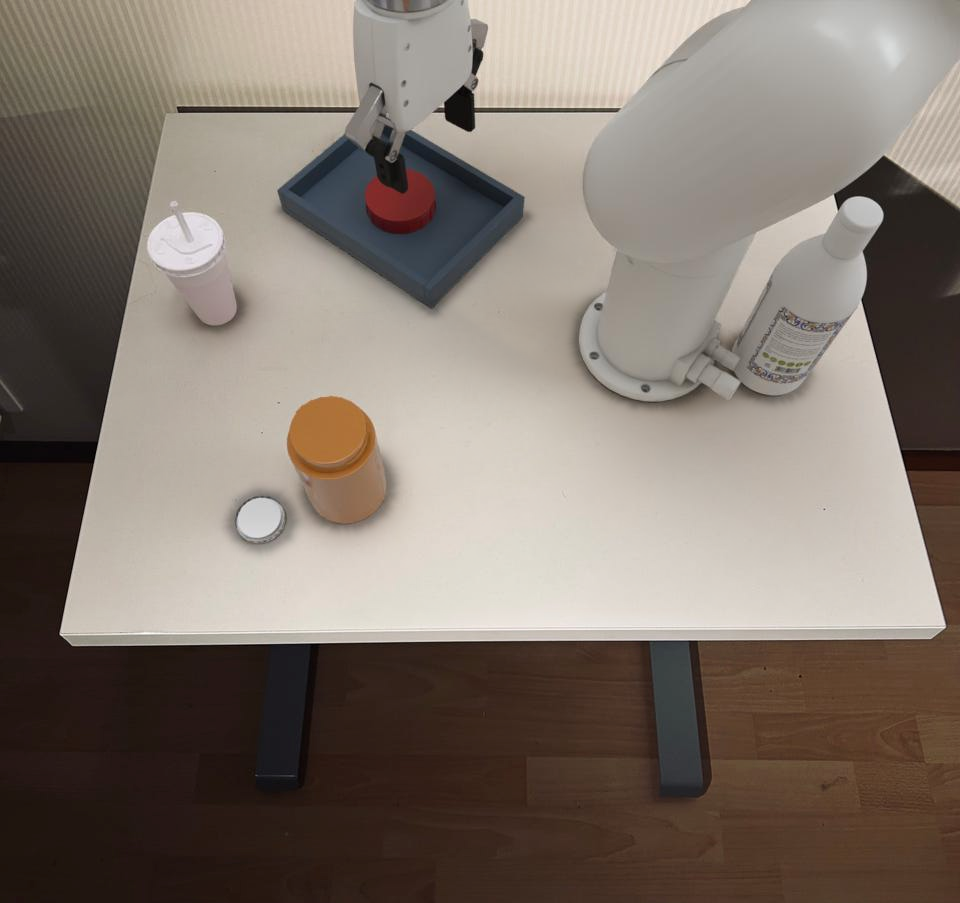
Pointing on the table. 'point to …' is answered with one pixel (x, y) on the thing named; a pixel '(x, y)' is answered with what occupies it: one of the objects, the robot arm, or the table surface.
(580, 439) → the table surface
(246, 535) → the white grey disc
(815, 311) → the bath foam
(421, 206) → the lid
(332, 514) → the jar
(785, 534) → the table surface
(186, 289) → the smoothie
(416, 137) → the tray
